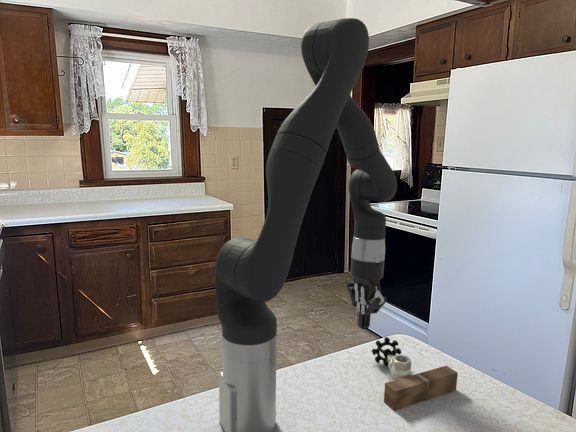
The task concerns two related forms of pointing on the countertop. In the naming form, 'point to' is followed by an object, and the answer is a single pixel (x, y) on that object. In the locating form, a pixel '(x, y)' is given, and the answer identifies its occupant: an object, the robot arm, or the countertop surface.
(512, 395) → the countertop surface
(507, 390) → the countertop surface
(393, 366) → the valve
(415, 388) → the bar
